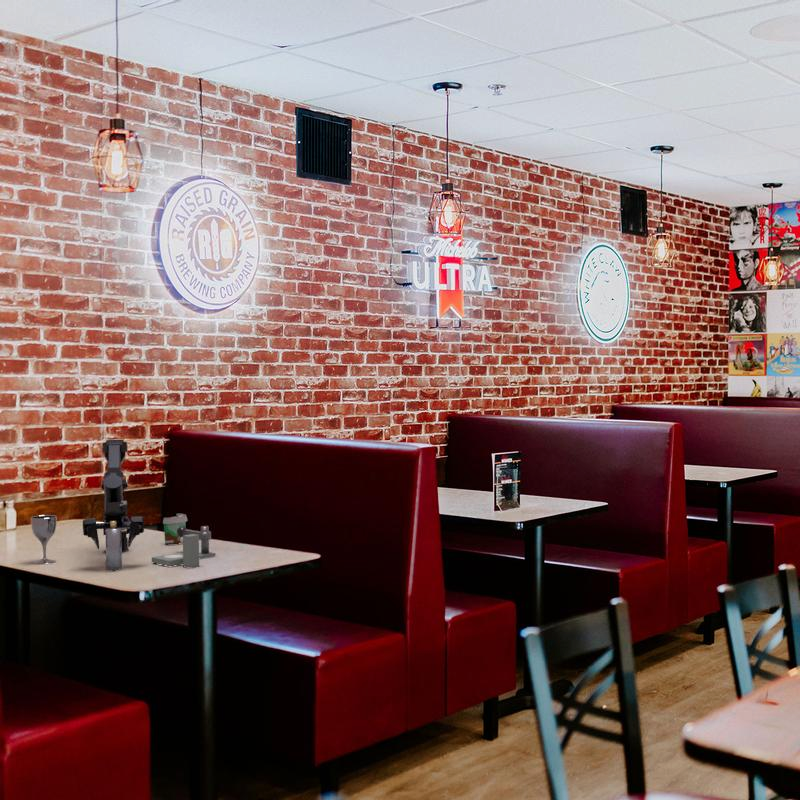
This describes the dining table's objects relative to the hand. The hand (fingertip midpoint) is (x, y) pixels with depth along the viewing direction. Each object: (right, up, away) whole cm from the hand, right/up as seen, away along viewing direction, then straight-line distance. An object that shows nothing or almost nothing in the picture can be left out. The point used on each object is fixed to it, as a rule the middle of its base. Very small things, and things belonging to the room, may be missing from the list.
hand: (113, 547), depth 313 cm
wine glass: (-27, -7, +15) cm, 32 cm away
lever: (+20, -5, +27) cm, 34 cm away
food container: (+9, -6, +50) cm, 52 cm away
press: (+22, -7, +13) cm, 27 cm away
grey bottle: (0, -7, +1) cm, 7 cm away
